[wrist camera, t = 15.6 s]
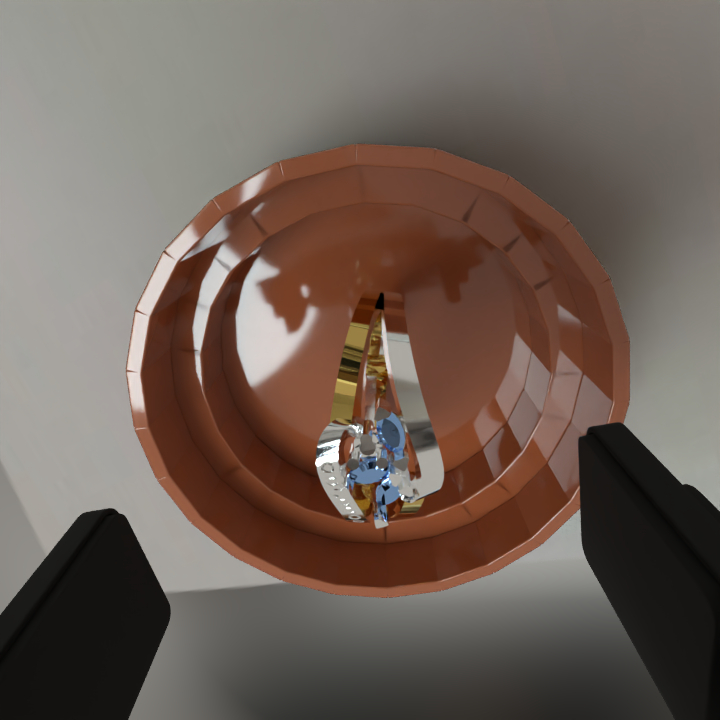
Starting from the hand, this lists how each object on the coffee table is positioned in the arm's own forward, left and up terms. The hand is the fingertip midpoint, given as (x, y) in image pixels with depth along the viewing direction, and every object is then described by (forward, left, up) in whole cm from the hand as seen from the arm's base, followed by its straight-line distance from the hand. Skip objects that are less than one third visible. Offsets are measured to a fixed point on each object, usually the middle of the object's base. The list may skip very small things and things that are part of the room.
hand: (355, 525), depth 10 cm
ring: (+1, 0, -10) cm, 10 cm away
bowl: (0, 0, -10) cm, 10 cm away
